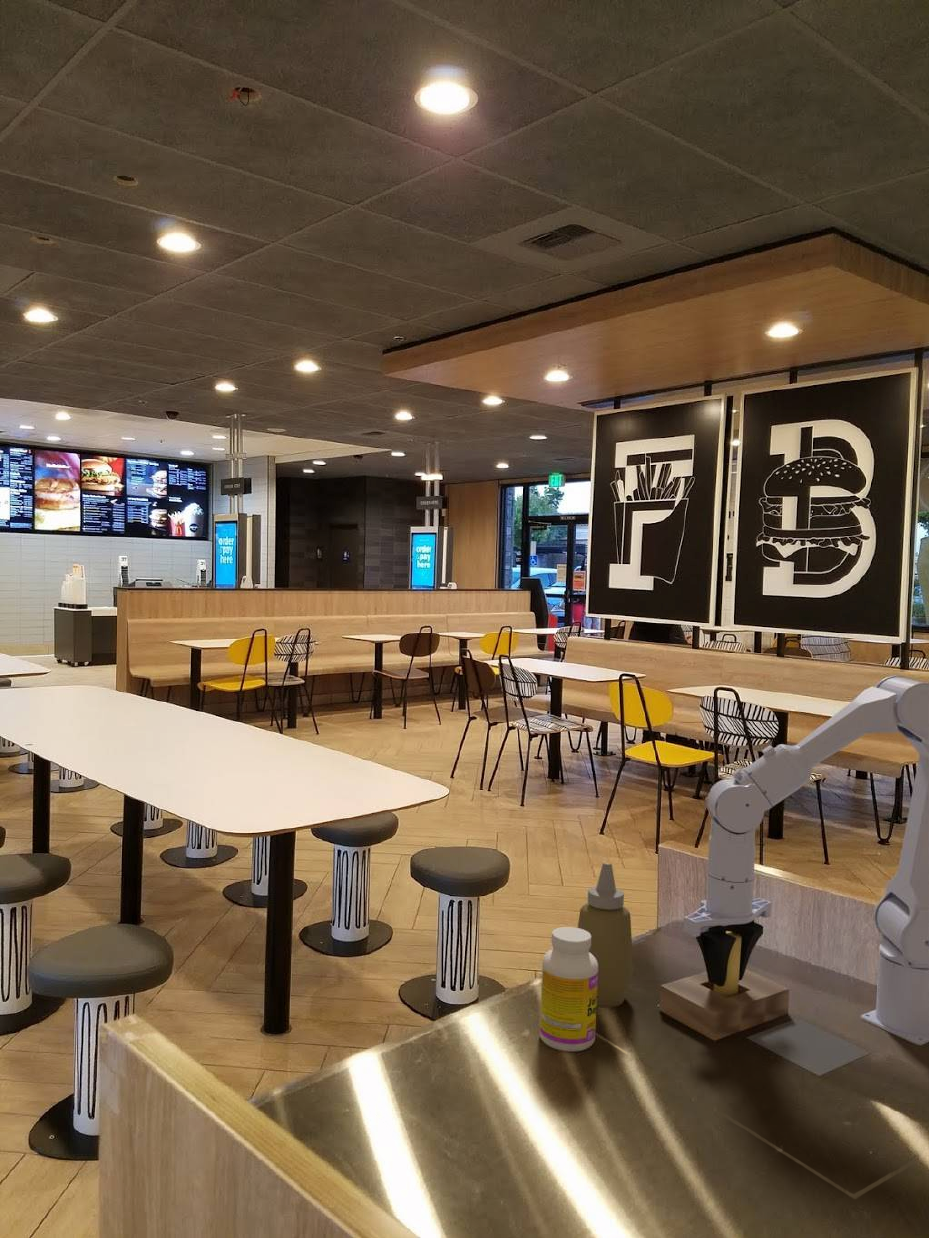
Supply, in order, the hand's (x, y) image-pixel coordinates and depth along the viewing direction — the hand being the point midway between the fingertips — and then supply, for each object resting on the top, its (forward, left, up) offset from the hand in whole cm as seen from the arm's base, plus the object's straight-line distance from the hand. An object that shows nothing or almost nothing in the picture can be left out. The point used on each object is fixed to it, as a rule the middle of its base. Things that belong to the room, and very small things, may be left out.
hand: (725, 980), depth 118 cm
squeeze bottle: (+11, -11, -5) cm, 16 cm away
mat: (-2, +11, -4) cm, 12 cm away
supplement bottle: (+22, -5, -5) cm, 23 cm away
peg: (0, 0, -3) cm, 3 cm away
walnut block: (0, 0, -4) cm, 4 cm away
